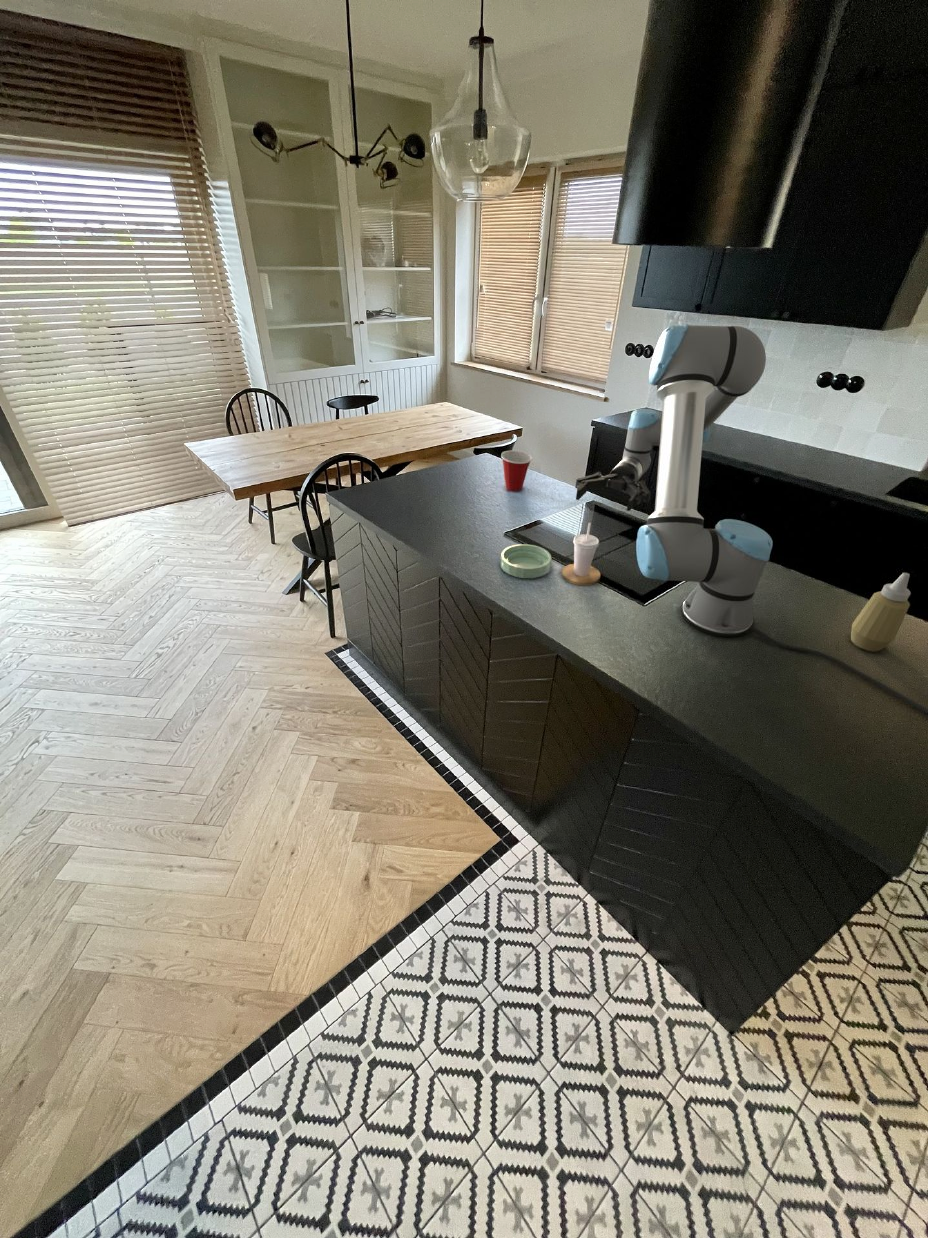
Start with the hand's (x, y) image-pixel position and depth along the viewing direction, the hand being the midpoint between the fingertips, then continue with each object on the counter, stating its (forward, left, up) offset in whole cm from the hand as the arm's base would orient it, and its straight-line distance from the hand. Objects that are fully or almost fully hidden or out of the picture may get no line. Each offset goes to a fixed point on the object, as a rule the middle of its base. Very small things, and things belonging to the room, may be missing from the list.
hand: (602, 500), depth 137 cm
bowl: (+8, +18, -18) cm, 26 cm away
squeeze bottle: (-61, -22, -18) cm, 67 cm away
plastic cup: (+52, -15, -18) cm, 57 cm away
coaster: (-4, +9, -18) cm, 20 cm away
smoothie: (-4, +9, -17) cm, 19 cm away
